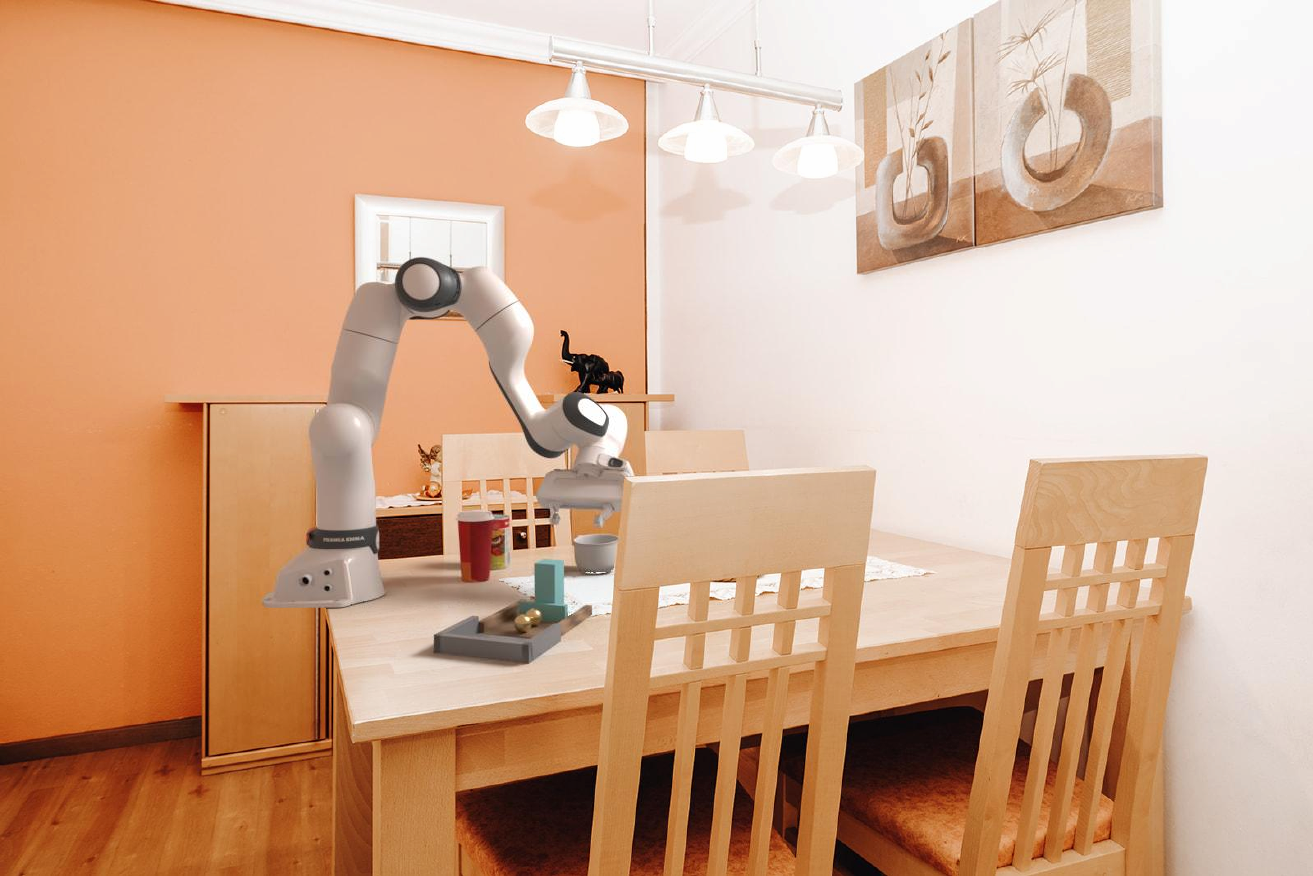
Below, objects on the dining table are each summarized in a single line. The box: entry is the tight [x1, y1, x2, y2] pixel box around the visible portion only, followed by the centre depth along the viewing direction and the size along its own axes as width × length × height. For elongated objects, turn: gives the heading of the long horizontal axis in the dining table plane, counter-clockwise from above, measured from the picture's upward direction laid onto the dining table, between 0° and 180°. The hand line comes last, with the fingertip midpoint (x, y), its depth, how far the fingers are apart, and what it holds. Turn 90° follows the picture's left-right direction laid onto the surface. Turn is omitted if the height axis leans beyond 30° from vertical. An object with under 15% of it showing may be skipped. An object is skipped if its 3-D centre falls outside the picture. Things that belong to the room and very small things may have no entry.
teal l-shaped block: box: [519, 558, 569, 622], centre depth 141 cm, size 5×9×10 cm, turn 73°
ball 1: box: [514, 614, 532, 632], centre depth 131 cm, size 3×3×3 cm
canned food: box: [490, 514, 511, 571], centre depth 185 cm, size 8×8×12 cm
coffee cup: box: [455, 509, 494, 583], centre depth 171 cm, size 8×8×15 cm
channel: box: [479, 599, 593, 639], centre depth 136 cm, size 17×14×2 cm
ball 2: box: [525, 608, 542, 626], centre depth 135 cm, size 3×3×3 cm
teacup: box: [572, 533, 619, 573], centre depth 181 cm, size 14×11×8 cm
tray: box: [433, 615, 562, 665], centre depth 124 cm, size 12×16×3 cm
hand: (575, 524), depth 152 cm, fingers open, 8 cm apart
